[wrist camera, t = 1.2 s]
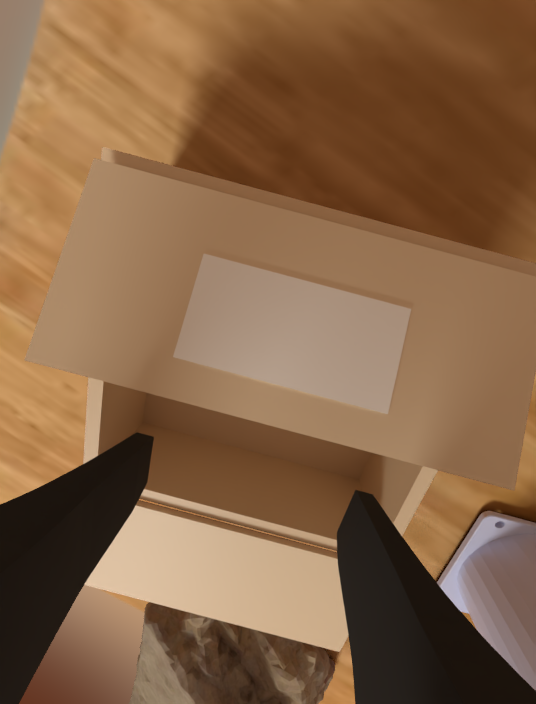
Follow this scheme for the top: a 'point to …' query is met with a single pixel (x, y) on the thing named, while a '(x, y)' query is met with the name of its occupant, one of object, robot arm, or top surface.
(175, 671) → the artifact
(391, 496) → the carton
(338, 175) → the top surface
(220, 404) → the cardboard box flap
